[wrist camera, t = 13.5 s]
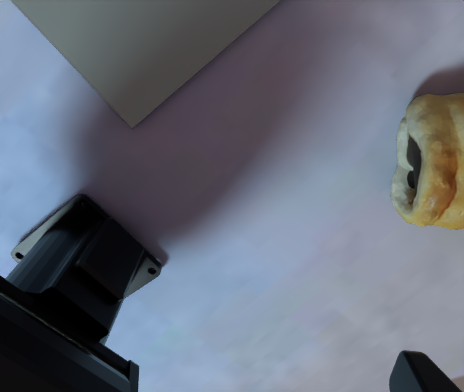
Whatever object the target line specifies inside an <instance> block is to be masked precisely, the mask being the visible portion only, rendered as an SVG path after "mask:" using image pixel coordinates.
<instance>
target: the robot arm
mask: <svg viewBox="0 0 464 392" xmlns="http://www.w3.org/2000/svg"><path fill="white" fill-rule="evenodd" d="M79 202H82V203H84V205H85V206H81V205H80V204H79ZM19 252H20V253H22V254H23V255H22V254H20V253H19ZM11 256H12V258H13V259H14V260H15V261H17V262H18V265H17V266H16V267H15V268H14V269H13V270H12V272H11V273H10V274H9V275H8V276H7V277H6V279H5V278H3V277H2V276H0V392H138V381H139V366H138V365H137V364H135V363H134V362H132V361H131V360H129V361H127V360H125V359H124V358H122V357H121V356H119V355H118V354H116V353H115V352H113V351H112V350H110V349H109V348H107V347H106V346H104V345H105V343H106V341H107V338H108V336H109V333H110V331H111V329H112V326H113V324H114V322H115V319H116V317H117V315H118V312H119V310H120V308H121V305H122V303H123V301H124V299H125V298H126V297H128V296H129V295H131V294H132V293H134V292H135V291H137V290H138V289H140V288H141V287H143V286H144V285H146V284H147V283H149V282H150V281H152V280H153V279H155V278H156V277H158V276H159V275H160V272H161V269H162V266H161V264H160V263H159V262H158V261H157V260H156V259H155V258H154V257H153V256H152V255H151V254H150V253H149V252H147V251H146V250H145V249H144V248H143V246H142V245H141V244H140V243H139V242H138V241H137V240H135V239H134V238H133V237H132V236H131V235H130V234H129V233H128V232H127V231H126V230H125V229H124V228H123V227H121V226H120V225H119V224H118V223H117V222H116V221H115V220H114V219H112V218H111V217H110V216H109V215H108V214H107V213H106V212H104V211H103V210H102V209H101V208H100V207H99V206H98V205H97V204H96V203H95V202H94V201H93V200H92V199H90V198H89V197H88V196H87V195H84V194H79V195H77V196H75V197H74V198H73V199H72V200H71V201H69V202H68V203H67V204H66V205H65V206H63V207H62V208H61V209H60V210H59V211H57V212H56V213H55V214H54V215H53V216H51V217H50V218H49V219H48V220H47V221H45V222H44V223H43V224H42V225H41V226H40V227H38V228H37V229H36V230H35V231H34V232H32V233H31V234H30V235H29V236H28V237H26V238H25V239H24V240H23V241H22V242H20V243H19V244H18V245H17V246H16V247H15V248H14V249H13V250H12V252H11ZM150 268H154V269H155V270H151V269H150ZM389 388H390V392H462V391H461V390H460V389H459V388H458V387H457V386H456V385H455V384H454V383H453V382H452V381H451V380H450V379H449V378H448V377H447V376H446V375H445V374H444V373H443V372H442V371H441V370H440V369H439V368H438V366H437V365H436V364H435V363H434V362H433V361H432V360H431V359H430V358H429V357H428V356H427V355H425V354H424V353H422V352H417V351H406V350H404V351H401V352H400V353H399V355H398V358H397V360H396V363H395V365H394V368H393V371H392V373H391V376H390V380H389Z"/></svg>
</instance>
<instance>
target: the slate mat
mask: <svg viewBox="0 0 464 392" xmlns="http://www.w3.org/2000/svg"><path fill="white" fill-rule="evenodd" d="M11 1H12V2H13V4H14V5H15V6H16V7H17V8H18V9H19V10H20V11H21V12H22V13H23V14H24V15H25V16H26V17H27V18H28V19H29V20H30V22H31V23H32V24H33V25H34V26H35V27H36V28H37V29H38V30H39V31H40V32H41V33H42V34H43V35H44V36H45V37H46V38H47V39H48V41H49V42H50V43H51V44H52V45H53V46H54V47H55V48H56V49H57V50H58V51H59V52H60V53H61V54H62V55H63V56H64V57H65V59H66V60H67V61H68V62H69V63H70V64H71V65H72V66H73V67H74V68H75V69H76V70H77V71H78V72H79V73H80V74H81V75H82V76H83V78H84V79H85V80H86V81H87V82H88V83H89V84H90V85H91V86H92V87H93V88H94V89H95V90H96V91H97V92H98V93H99V94H100V96H101V97H102V98H103V99H104V100H105V101H106V102H107V103H108V104H109V105H110V106H111V107H112V108H113V109H114V110H115V111H116V112H117V113H118V115H119V116H120V117H121V118H122V119H123V120H124V121H125V122H126V123H127V124H128V125H129V126H130V127H131V128H133V127H135V126H136V125H137V124H138V123H139V122H140V121H142V120H143V119H144V118H145V117H146V116H147V115H148V114H150V113H151V112H152V111H153V110H154V109H155V108H157V107H158V106H159V105H160V104H161V103H162V102H164V101H165V100H166V99H167V98H168V97H169V96H170V95H172V94H173V93H174V92H175V91H176V90H177V89H179V88H180V87H181V86H182V85H183V84H184V83H185V82H187V81H188V80H189V79H190V78H191V77H192V76H194V75H195V74H196V73H197V72H198V71H199V70H201V69H202V68H203V67H204V66H205V65H206V64H207V63H209V62H210V61H211V60H212V59H213V58H214V57H216V56H217V55H218V54H219V53H220V52H221V51H223V50H224V49H225V48H226V47H227V46H228V45H229V44H231V43H232V42H233V41H234V40H235V39H236V38H238V37H239V36H240V35H241V34H242V33H243V32H245V31H246V30H247V29H248V28H249V27H250V26H251V25H253V24H254V23H255V22H256V21H257V20H258V19H260V18H261V17H262V16H263V15H264V14H265V13H266V12H268V11H269V10H270V9H271V8H272V7H273V6H275V5H276V4H277V3H278V2H279V1H280V0H11Z"/></svg>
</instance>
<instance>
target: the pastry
mask: <svg viewBox="0 0 464 392" xmlns="http://www.w3.org/2000/svg"><path fill="white" fill-rule="evenodd" d="M397 146H398V148H397V158H398V167H397V169H396V172H395V173H394V175H393V178H392V183H391V199H392V202H393V204H394V207H395V209H396V210H397V212H398V213H399V215H400V216H401V217H402V218H403V219H404V220H405V221H406V222H407V223H410V224H415V225H418V226H421V227H423V226H427V225H433V226H439V227H443V228H447V229H456V230H458V229H462V228H464V93H453V94H449V95H432V94H425V95H422V96H419V97H416V98H415V99H414V100H413V101H412V102H411V103H410V104H409V105H408V107H407V109H406V115H405V117H404V118H403V119H402V120H401V122H400V125H399V130H398V135H397Z"/></svg>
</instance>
